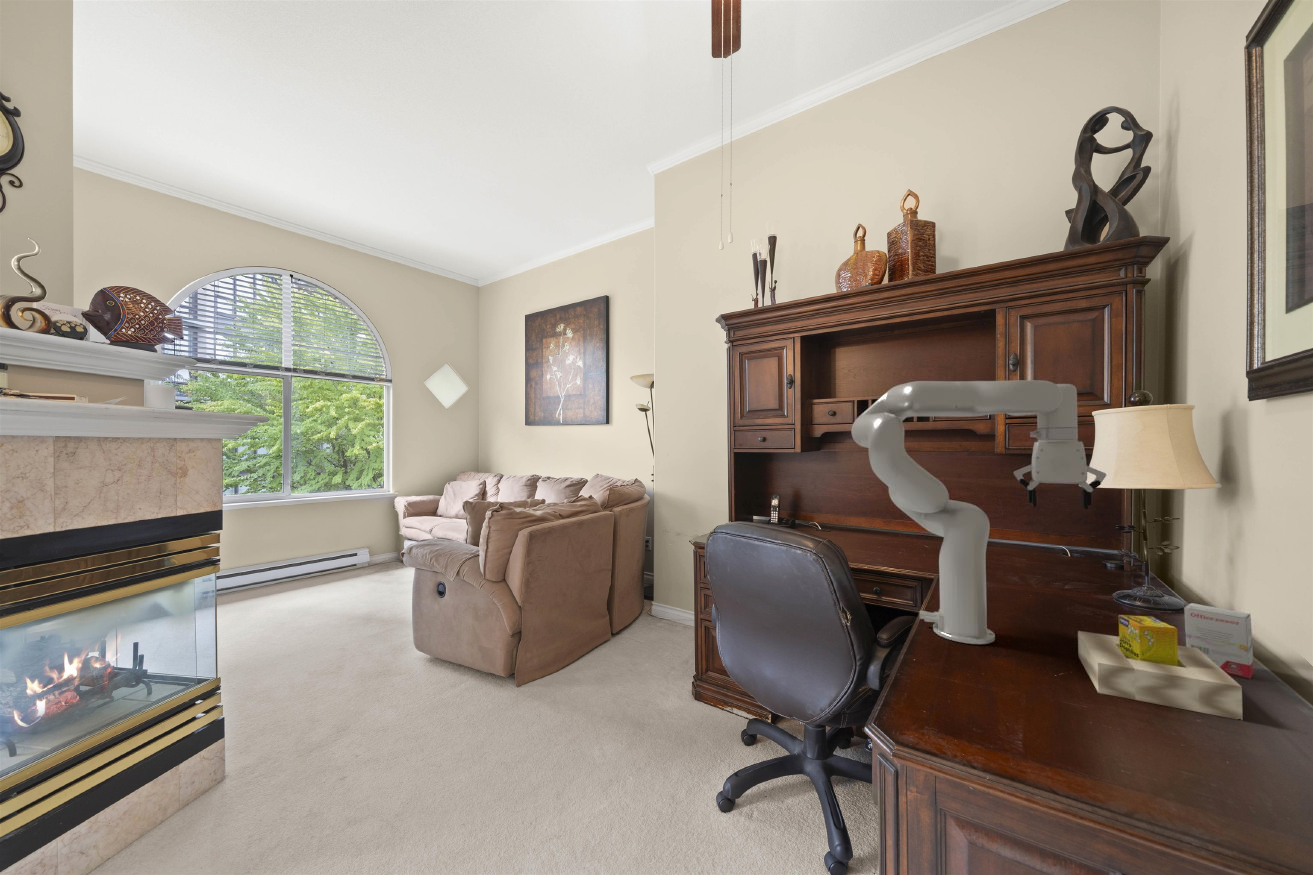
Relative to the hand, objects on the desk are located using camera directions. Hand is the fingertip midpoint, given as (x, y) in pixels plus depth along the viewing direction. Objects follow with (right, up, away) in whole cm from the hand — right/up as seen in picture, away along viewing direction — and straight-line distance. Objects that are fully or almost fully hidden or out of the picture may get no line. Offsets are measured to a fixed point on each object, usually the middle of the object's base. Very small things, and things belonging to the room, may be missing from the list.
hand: (1058, 507), depth 119 cm
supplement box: (-3, -29, -25) cm, 39 cm away
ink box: (+17, -30, -19) cm, 40 cm away
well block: (-3, -30, -25) cm, 39 cm away
